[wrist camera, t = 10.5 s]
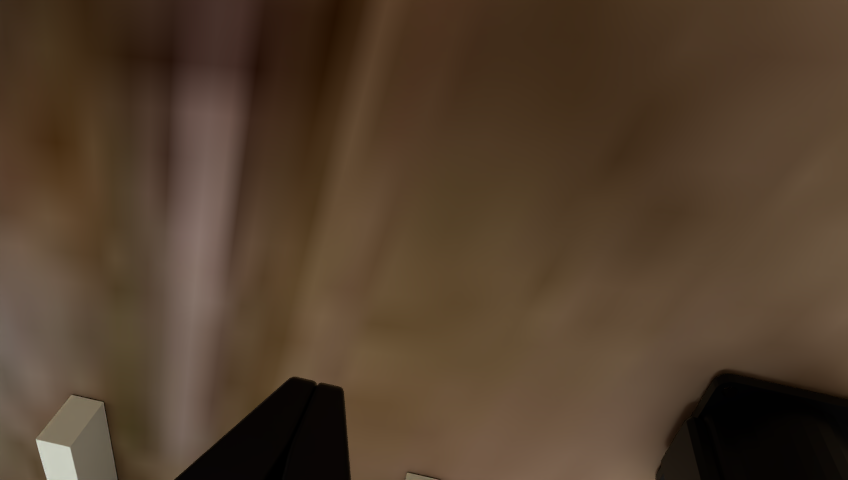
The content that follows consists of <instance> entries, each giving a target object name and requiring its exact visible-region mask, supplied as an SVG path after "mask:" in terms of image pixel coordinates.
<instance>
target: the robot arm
mask: <svg viewBox="0 0 848 480" xmlns="http://www.w3.org/2000/svg"><path fill="white" fill-rule="evenodd" d="M727 387H732V388H729V389H724V388H727ZM655 479H656V480H848V400H847V399H842V398H838V397H833V396H829V395H824V394H820V393H815V392H811V391H806V390H802V389H797V388H793V387H789V386H784V385H780V384H775V383H771V382H766V381H762V380H757V379H753V378H748V377H744V376H739V375H735V374H722V375H720V376H718V377H716V378H715V379H714V380H713V381H712V383H711V384H710V386H709V388H708V389H707V391H706V393H705V394H704V396H703V398H702V399H701V401H700V403H699V404H698V406H697V408H696V409H695V411H694V413H693V414H692V416H691V417H689V418H688V419H687V420H686V421H685V422H684V423H683V425H682V427H681V428H680V430H679V432H678V433H677V435H676V437H675V438H674V440H673V442H672V443H671V445H670V447H669V448H668V450H667V452H666V453H665V455H664V457H663V458H662V466H661V467H660V469H659V471H658V472H657V474H656V477H655ZM174 480H351V475H350V462H349V450H348V437H347V425H346V412H345V400H344V391H343V389H342V388H341V387H339V386H335V385H330V384H326V383H319V384H318V385H317V383H316V382H315V381H313V380H308V379H304V378H299V377H291V378H289V379H288V380H287V381H286V382H285V383H284V384H282V385H281V386H280V387H279V388H278V389H277V390H276V391H274V392H273V393H272V394H271V395H270V396H269V397H268V398H266V399H265V400H264V401H263V402H262V403H261V404H260V405H259V406H257V407H256V408H255V409H254V410H253V411H252V412H251V413H249V414H248V415H247V416H246V417H245V418H244V419H243V420H241V421H240V422H239V423H238V424H237V425H236V426H235V427H234V428H232V429H231V430H230V431H229V432H228V433H227V434H226V435H224V436H223V437H222V438H221V439H220V440H219V441H218V442H216V443H215V444H214V445H213V446H212V447H211V448H210V449H209V450H207V451H206V452H205V453H204V454H203V455H202V456H201V457H199V458H198V459H197V460H196V461H195V462H194V463H193V464H191V465H190V466H189V467H188V468H187V469H186V470H185V471H184V472H182V473H181V474H180V475H179V476H178V477H177V478H176V479H174Z"/></svg>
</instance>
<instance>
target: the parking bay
mask: <svg viewBox="0 0 848 480" xmlns="http://www.w3.org/2000/svg"><path fill="white" fill-rule="evenodd" d="M36 442H37V446H38V449H39V453H40V456H41V460H42V463H43V467H44V471H45V474H46V478H47V480H118V479H117V474H116V468H115V463H114V457H113V452H112V446H111V441H110V435H109V429H108V424H107V418H106V413H105V407H104V402H101V401H96V400H92V399H88V398H83V397H79V396H75V395H71V396H70V397H69V399H68V400H67V401H66V402H65V403H64V405H63V406H62V407H61V408H60V410H59V411H58V412H57V413H56V415H55V416H54V417H53V418H52V420H51V421H50V422H49V423H48V424H47V426H46V427H45V428H44V429H43V431H42V432H41V433H40V434H39V436H38V437H37V438H36ZM406 480H438V479H433V478H429V477H425V476H420V475H416V474H412V473H408V472H407V475H406Z"/></svg>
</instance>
